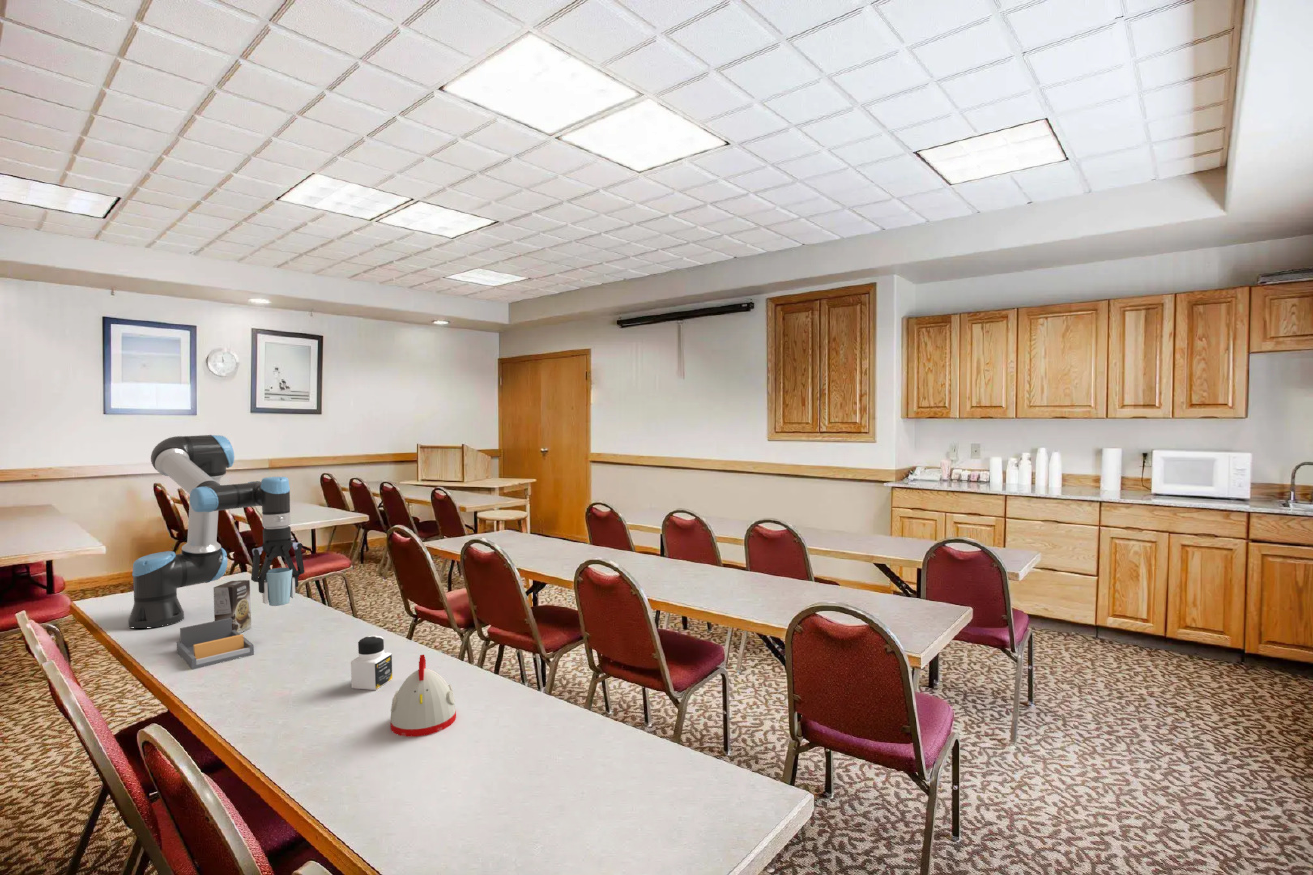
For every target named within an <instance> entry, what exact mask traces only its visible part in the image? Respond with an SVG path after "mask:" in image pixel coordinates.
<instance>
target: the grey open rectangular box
mask: <svg viewBox="0 0 1313 875" xmlns="http://www.w3.org/2000/svg"><path fill="white" fill-rule="evenodd" d="M241 634H242V633H238V632H237V631H236V630H232V619H231V618H228V619H223V620H218V621H215V620H214V621H209V622H204V623H199V624H195V625H190V626H184V627H179V635H180V636H179V637H180V640H179V641H177V642H176V654H177V655H179V657H180V658H181V659H182V658H183V659H182V660H183V661H184V662H185V663H186V664H187V666H188V667H189V668H190V669H191V670H195V669H200V668H204V666H205V667H208V666H212V665H216V663H217V664H221V663H224V662H223V661H225V662H230V661H233V659H234V660H236V658H238V659H240V658H239V657H242V658H245V657H249V656H253V655H255V653H254V652H255V651H254V650H255V649H254V646H255V645H254V643H253V642H251V641H250V640H249V639H247V638H246V637H245V636H244V648H243V649H239V650H235V651H231V652H226V653H222V654H218V655H214V656H209V657H205V658H201V659H196V657H195V656H194V647H193V645H195V644H200V643H204V642H209V641H213V640H218V639H222V638H227V637H232V636H236V635H241ZM220 662H221V663H220Z"/></svg>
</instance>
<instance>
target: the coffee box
mask: <svg viewBox="0 0 1313 875" xmlns="http://www.w3.org/2000/svg"><path fill="white" fill-rule="evenodd" d="M250 581H251V580H250V579H246V580H245V579H243V580H241V579H240V580H231V581H230V580H229V581H227V582H225V583H222V584H218V585H217V586H214V587H213V609H214V610H213V611H214V612H213V613H214V617H213V618H214V619H213V620H214V621H218V620H223V619H228V618H231V619H232V630H236V631H237V632H238V633H240V634H243V633H244V632H247V631H248V630H250V629H252V607H251V582H250ZM243 631H244V632H243Z"/></svg>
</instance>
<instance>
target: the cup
mask: <svg viewBox="0 0 1313 875" xmlns="http://www.w3.org/2000/svg"><path fill="white" fill-rule="evenodd" d="M266 575H267V576H266V579H265V581H266V582H267V584H268V605H269V606H271V607H279V606H284V605H287V604H289V603H290V598H291V597H290V590H291V579H292V569H291V570H290V569H289V568H288V567H277V568H269V570H268V573H266Z"/></svg>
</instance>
